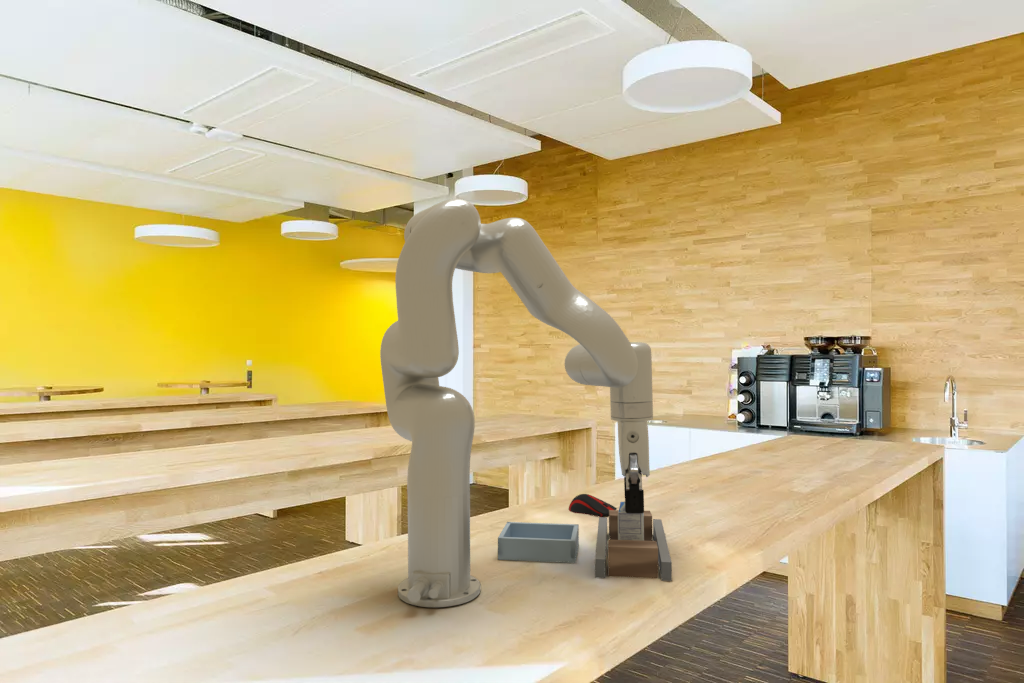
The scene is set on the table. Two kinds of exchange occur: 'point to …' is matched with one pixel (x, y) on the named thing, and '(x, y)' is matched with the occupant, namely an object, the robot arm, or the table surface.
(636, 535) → the medicine box
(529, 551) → the tray
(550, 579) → the table surface
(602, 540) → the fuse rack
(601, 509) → the computer mouse
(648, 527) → the far walnut block
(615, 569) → the near walnut block
